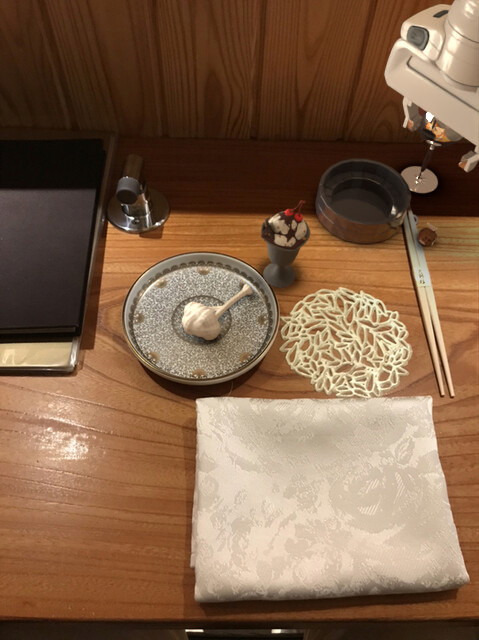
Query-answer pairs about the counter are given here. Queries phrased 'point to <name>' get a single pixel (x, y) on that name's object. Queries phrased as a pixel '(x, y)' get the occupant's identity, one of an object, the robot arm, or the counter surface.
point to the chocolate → (427, 235)
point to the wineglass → (429, 152)
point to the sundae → (283, 245)
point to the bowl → (362, 200)
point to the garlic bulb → (208, 316)
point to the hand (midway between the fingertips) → (437, 147)
